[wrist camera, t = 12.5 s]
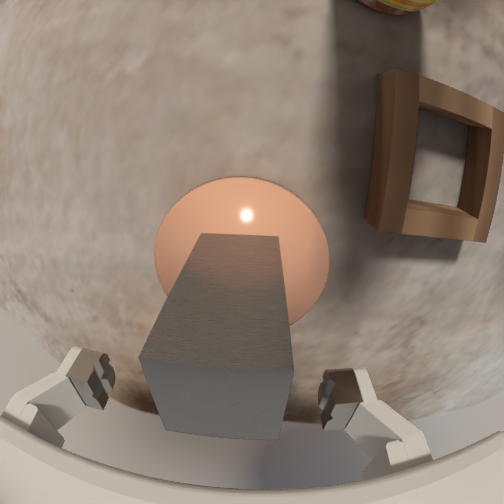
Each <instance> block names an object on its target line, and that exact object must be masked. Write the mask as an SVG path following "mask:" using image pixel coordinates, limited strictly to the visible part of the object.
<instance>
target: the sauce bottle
mask: <svg viewBox="0 0 504 504" xmlns="http://www.w3.org/2000/svg"><path fill="white" fill-rule="evenodd" d="M358 1H359V2H360V3H362V4H364V5H365V6H368V7H369V8H372V9H374V10H376V11H379V12H383V13H387V14H394V15H404V14H410V13H413V12H415V11H417V10H421V9H424V8H426V7H428V6H429V5H431V4H433V3H435V2H436V1H438V0H358Z"/></svg>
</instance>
